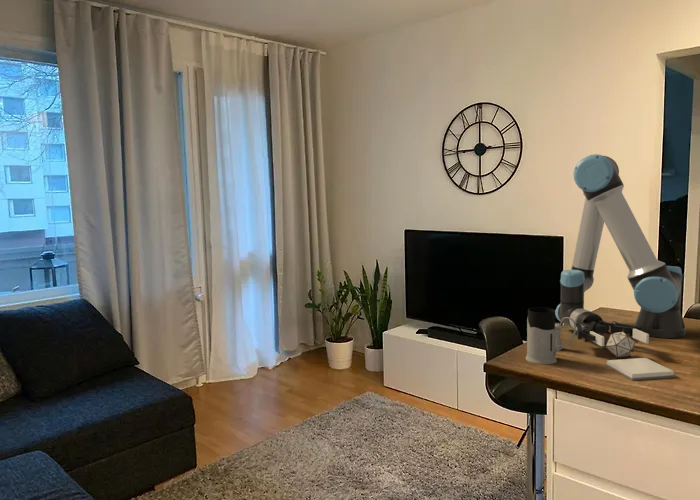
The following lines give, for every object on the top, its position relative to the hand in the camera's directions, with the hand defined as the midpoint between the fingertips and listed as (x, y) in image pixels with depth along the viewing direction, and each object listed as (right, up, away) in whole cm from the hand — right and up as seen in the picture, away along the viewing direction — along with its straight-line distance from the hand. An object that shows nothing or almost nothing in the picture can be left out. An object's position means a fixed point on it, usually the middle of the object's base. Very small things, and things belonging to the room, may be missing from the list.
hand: (625, 340), depth 157 cm
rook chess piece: (-15, -5, +14) cm, 21 cm away
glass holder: (-21, -7, +2) cm, 22 cm away
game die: (0, -6, +4) cm, 7 cm away
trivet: (-1, -7, -9) cm, 11 cm away
